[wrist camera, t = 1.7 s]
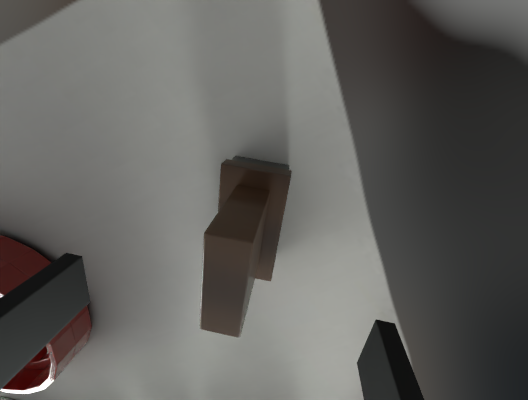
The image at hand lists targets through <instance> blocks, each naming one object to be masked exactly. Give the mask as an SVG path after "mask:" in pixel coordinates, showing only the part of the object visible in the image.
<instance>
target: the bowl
mask: <svg viewBox="0 0 528 400" xmlns="http://www.w3.org/2000/svg"><path fill="white" fill-rule="evenodd" d="M51 263H52V262H50V261H49V260H47V259H46V258H45V257H43V256H42V255H41V254H39V253H38V252H36V251H35V250H33V249H32V248H30V247H28V246H25V245H23V244H21V243H19V242H17V241H15V240H13V239H10V238H8V237H6V236H2V235H0V298H1V297H2V296H4V295H5V294H7V293H8V292H10V291H11V290H13V289H14V288H16V287H17V286H19V285H20V284H22V283H23V282H24V281H26V280H27V279H29V278H30V277H32V276H33V275H35V274H36V273H38V272H39V271H41V270H42V269H44V268H45V267H46V266H48V265H49V264H51ZM91 327H92V325H91V320H90V315H89V310H88V307H87V305H86V306H85V307H84V308H83V309H82V310H81V311H80V312H79V313H78V314H77V315H76V316H75V317H74V318H73V319H72V320H71V321H70V322H69V323H68V324H67V325H66V326H65V327H64V328H63V329H62V330H61V331H60V332H59V333H58V334H57V335H56V336H55V337H54V338H53V339H52V340H51V341H50V342H49V343H48V344H47V345H46V346H45V347H44V348H43V349H42V350H41V351H40V352H39V353H38V354H37V355H36V356H35V357H34V358H32V359H31V360H30V361H29V362H28V363H27V364H26V365H25V366H24V367H23V368H22V369H21V370H20V371H19V372H18V373H17V374H16V375H15V376H14V377H13V378H12V379H11V380H10V381H9V382H8V383H7V384H6V385H5V386H4V387H3V388H2V389H1V390H0V391H3V392H7V393H21V394H29V393H33V392H37V391H41V390H44V389H46V388H47V387H48V386H49V385H50V384H51V383H52V382H53V381H54V380H55V379H56V378H57V377H58V375H59V374H60V373H61V372H62V371H63V370H64V368H65V367H66V366H67V365H68V364H69V362H70V361H71V360H72V359H73V358H74V357H75V355H76V354H77V353H78V352H79V351H80V350H81V348H82V347H83V346H84V345H85V344H86V342H87V341H88V339H89V335H90V331H91Z"/></svg>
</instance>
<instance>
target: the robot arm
mask: <svg viewBox="0 0 528 400" xmlns="http://www.w3.org/2000/svg"><path fill="white" fill-rule="evenodd" d="M89 302H90V298H89V292H88V286H87V281H86V275H85V270H84V264H83V259H82V256H79V255H74V254H69V253H66V254H64V255H63V256H61V257H60V258H58V259H57V260H55V261H54V262H52V263H51V264H49V265H48V266H46V267H45V268H44V269H42V270H41V271H39V272H38V273H36V274H35V275H33V276H32V277H30V278H29V279H27V280H26V281H24V282H23V283H22V284H20V285H19V286H17V287H16V288H14V289H13V290H11V291H10V292H8V293H7V294H5V295H4V296H2V297H1V298H0V390H1V389H2V388H3V387H4V386H5V385H6V384H7V383H8V382H9V381H10V380H11V379H12V378H13V377H14V376H15V375H16V374H17V373H18V372H19V371H20V370H21V369H22V368H23V367H24V366H25V365H26V364H27V363H28V362H29V361H30V360H31V359H32V358H34V357H35V356H36V355H37V354H38V353H39V352H40V351H41V350H42V349H43V348H44V347H45V346H46V345H47V344H48V343H49V342H50V341H51V340H52V339H53V338H54V337H55V336H56V335H57V334H58V333H59V332H60V331H61V330H62V329H63V328H64V327H65V326H66V325H67V324H68V323H69V322H70V321H71V320H72V319H73V318H74V317H75V316H76V315H77V314H78V313H79V312H80V311H81V310H82V309H83V308H84V307H85V306H86V305H87V304H88V303H89ZM357 365H358V370H359V376H360V381H361V386H362V391H363V396H364V400H424V398H423V395H422V393H421V390H420V388H419V385H418V383H417V380H416V378H415V375H414V372H413V370H412V367H411V364H410V362H409V359H408V357H407V354H406V351H405V349H404V346H403V344H402V341H401V339H400V336H399V333H398V331H397V328H396V326H395V323H390V322H385V321H381V320H375V323H374V325H373V327H372V330H371V332H370V334H369V336H368V339H367V341H366V343H365V346H364V348H363V350H362V353H361V355H360V357H359V359H358V362H357Z"/></svg>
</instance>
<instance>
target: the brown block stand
mask: <svg viewBox="0 0 528 400" xmlns="http://www.w3.org/2000/svg"><path fill="white" fill-rule="evenodd" d="M291 172H292V171H291V170H289V165H285V164H279V163H274V162H268V161H262V160H256V159H251V158H245V157H239V156H235V157H234V158H233V159H232V160H229V159H226V160H225V161H224V162H223V163H222V164H221V175H220V189H219V203H218V213H217V215H216V216H215V218H214V219H213V221H212V222H211V224H210V225H209V227H208V228H207V230H206V231H205V233H204V246H203V267H202V288H201V309H200V329H202V330H207V331H211V332H215V333H220V334H224V335H229V336H233V337H238V338H239V337H240V336H241V332H242V328H243V324H244V320H245V316H246V312H247V308H248V304H249V300H250V296H251V292H252V289H253V285H254V281H255V278H257V279H261V280H266V281H271V278H272V272H273V267H274V262H275V257H276V251H277V246H278V241H279V236H280V230H281V225H282V220H283V215H284V209H285V204H286V199H287V194H288V188H289V183H290V178H291Z"/></svg>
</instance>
